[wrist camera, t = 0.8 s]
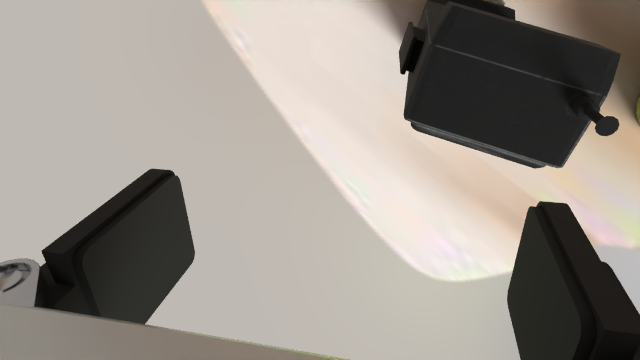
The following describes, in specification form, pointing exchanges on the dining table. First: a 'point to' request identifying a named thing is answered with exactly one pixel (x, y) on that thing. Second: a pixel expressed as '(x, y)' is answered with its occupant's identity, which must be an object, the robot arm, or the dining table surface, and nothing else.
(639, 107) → the plant pot
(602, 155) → the dining table surface
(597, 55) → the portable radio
